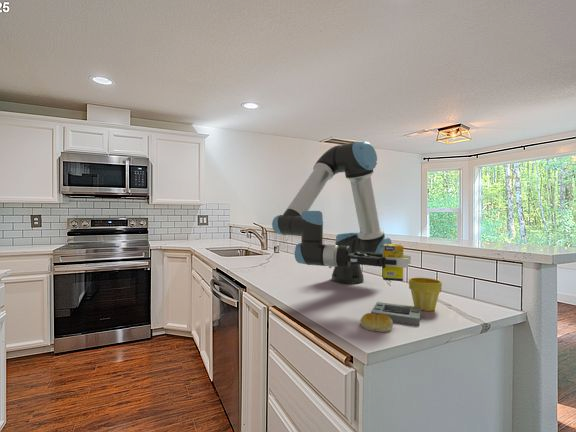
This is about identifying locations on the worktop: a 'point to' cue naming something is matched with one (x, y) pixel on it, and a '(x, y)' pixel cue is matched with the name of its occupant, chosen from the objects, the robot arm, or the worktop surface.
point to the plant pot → (425, 292)
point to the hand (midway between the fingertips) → (409, 261)
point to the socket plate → (402, 318)
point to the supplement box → (390, 271)
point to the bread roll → (377, 322)
